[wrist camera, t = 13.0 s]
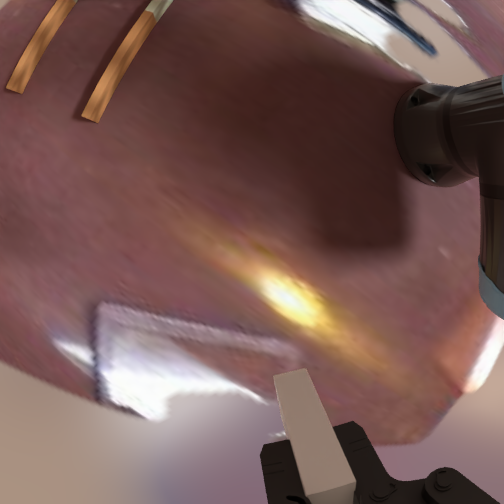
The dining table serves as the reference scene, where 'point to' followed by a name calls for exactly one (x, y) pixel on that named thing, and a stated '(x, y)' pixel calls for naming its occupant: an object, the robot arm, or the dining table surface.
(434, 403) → the dining table surface
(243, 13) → the dining table surface
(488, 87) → the robot arm
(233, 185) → the dining table surface
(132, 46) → the track
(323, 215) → the dining table surface
